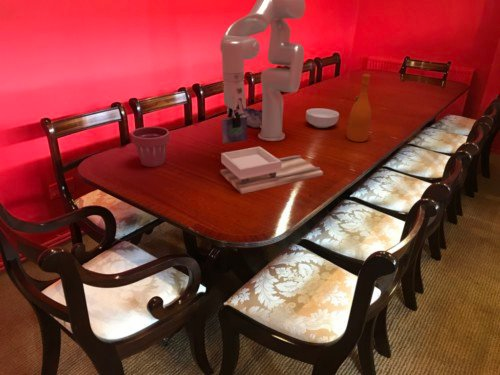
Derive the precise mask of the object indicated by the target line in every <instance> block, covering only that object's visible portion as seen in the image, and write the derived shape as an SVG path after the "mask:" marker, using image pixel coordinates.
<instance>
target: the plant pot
mask: <svg viewBox="0 0 500 375" xmlns="http://www.w3.org/2000/svg"><path fill="white" fill-rule="evenodd" d="M130 133H131V134H130V135H131V136H130V137H131V143H132V144H133V146H135V149H136V152H137V155H138V157H139V160H140V164H141V165H142V166H145V167H149V168H154V167H160V166H162V165H164V163H165V162H166V155H167V150H168V149H167V148H168V143H169V142H170V132H169V129H167V128H165V127H160V126H145V127H144V126H143V127H139V128H136V129H134V130H133V131H131V132H130Z"/></svg>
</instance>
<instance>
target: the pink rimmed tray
mask: <svg viewBox="0 0 500 375" xmlns="http://www.w3.org/2000/svg"><path fill="white" fill-rule="evenodd" d="M220 154H221V155H220V156H221V159H220V160H221V164H222V165H224V166H225V169H229V170H230V171H231V172H232V173H234V174H235V175H236V176H237V177H238V178H239V179H240V180H241V181H242V182H243V183H245V184H246V183H248V181H249V178H250V177H255V176H260V175H265V174H269V176H271V177H272V178H273V177H275V176H276V172H279V171H281V163H282V161H280V160H279V159H280V158H278V157H276V156H274V155H273V154H271V153H270V152H268V151H267V150H265V148H263V147H261V146H254V147H249V148H243V149H239V150H231V151H225V152H221V153H220Z"/></svg>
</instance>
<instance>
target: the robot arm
mask: <svg viewBox="0 0 500 375" xmlns="http://www.w3.org/2000/svg"><path fill="white" fill-rule="evenodd" d="M305 12H306V2H305V0H256V1H255V3H254V5H253V7H252V9H251V10H250V11H249V13H248V14H246V15H245V16H243V17H241V18H239V19H238V20H236V21H234V22H233V23H232V24H230V26H228V28H227V29H226V31H225V33H224V34H223V36H222V38H221V40H220V46H219V48H220V49H219V50H220V53H221V60H222V61H221V65H222V66H221V67H222V82H223V103H224V105H225V107H226V110H227V111H226V113H227V117H232V116H231V115H232V113H233V118H232V127H233V128H238V127H241V114H243V109H245V108H246V107H247V105H246V104H247V100H246V99H247V98H246V87H245V60H253V59H254V58H256V57H257V56H258V54H259V52H260V43H259V41H258V40H257V39H256V38H254V37H252V36H254V35H257V34H260V33H263V32H265V31H266V30H267V29H268V27H269V26H270V36H269V37H270V38H269V43H268V51H267V60H268V62H269V64H272V65H276V66H284V67H289V68H290V69H289V68H281V67H268V68H265V69H263V71H262V72H261V75H260V84H261V92H262V99H261V100H262V104H261V105H262V106H261V110H262V125H261V126H260V128H259V129H261V131H260V132H259V133H258V134H257V135H258V138H259V139H260V140H263V141H266V142H267V141H268V142H277V141H282V140H284V139H285V136H286V134H285V133H284V132H283V117H284V116H283V112H284V97H283V95H282V93H281V92H284V93H285V92H286V93H296V92H297V91H298V90H299V88H300V84H301V80H302V74H303V68H304V60H305V49H304V46H303V45H302V44H300V43H296V42H290V39H291V38H290V37H291V33H292V32H291V31H292V30H291V28H290V25H289V23H288V22H287V21H286V19H288V20H289V19H290V20H299V19H301V18H302V17H303V16H304V14H305ZM231 112H232V113H231Z"/></svg>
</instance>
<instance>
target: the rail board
mask: <svg viewBox="0 0 500 375" xmlns="http://www.w3.org/2000/svg"><path fill="white" fill-rule="evenodd" d="M278 159H279V160H280V161H282V163H281V171H279V172H276V176H275V177H273V178H272V177H271V176H269V174H265V175H260V176H255V177H250V178H249V181H248V183H246V184H245V183H243V182H242V181H241V180H240V179H239V178H238V177H237V176H236V175H235V174H234V173H232V172H231V171H230V170H229V169H228V168H225V169H224V168H223V169H220V175H222V177H224V178H225V179H226V180H227V181H228V182H229V183H230V184H231V185H232V186H233V188H235V189H236V190H237V191H238V192H239V193H240V194H241V195H244V194H248V193H251V192H256V191H261V190H265V189H269V188H275V187H278V186H282V185H287V184H291V183H296V182H299V181H305V180H308V179H313V178H318V177H322V176H324V171H322V170H321V167H319V166H314V165H313V164H311V163H310V162H308V161H306V160H305V159H303V158H302V155H300V154H297V155H296V154H295V155H291V156H286V157H281V158H278Z"/></svg>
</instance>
